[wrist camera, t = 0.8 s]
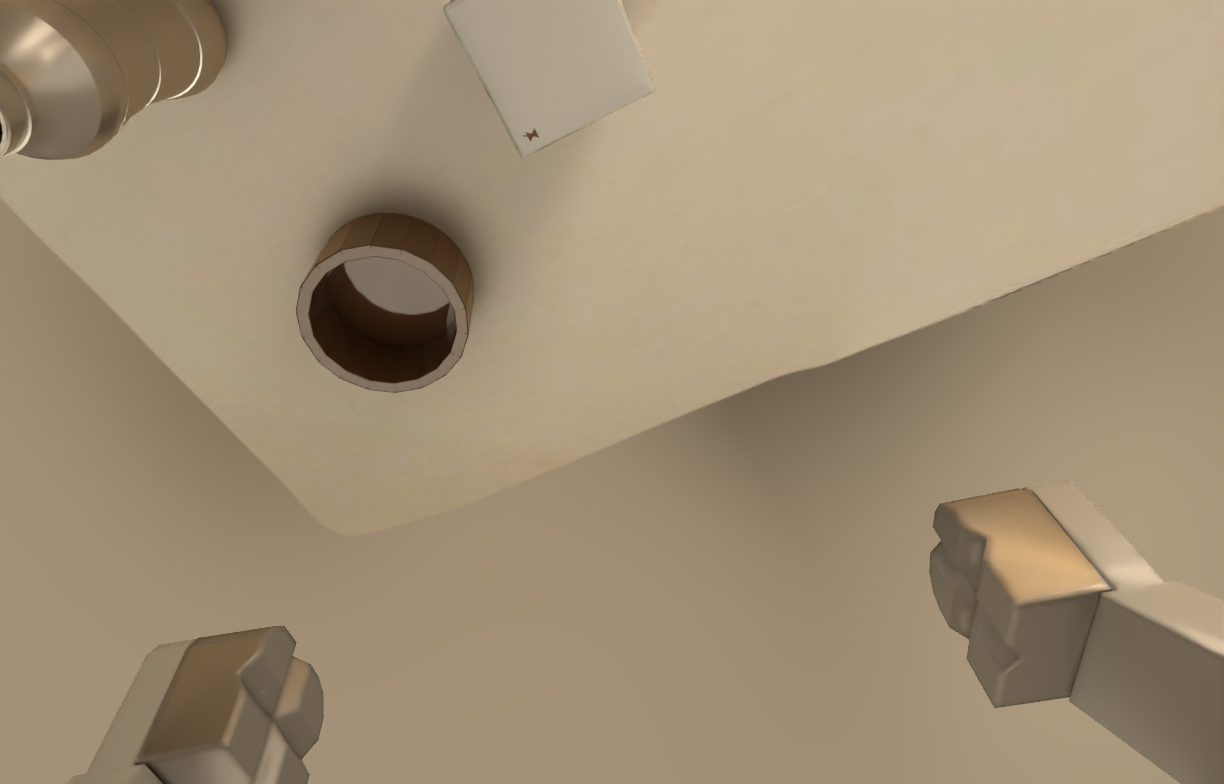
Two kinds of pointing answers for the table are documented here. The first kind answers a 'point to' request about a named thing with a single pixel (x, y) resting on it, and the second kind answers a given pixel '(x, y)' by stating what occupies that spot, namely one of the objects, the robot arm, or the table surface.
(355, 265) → the cup
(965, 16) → the table surface
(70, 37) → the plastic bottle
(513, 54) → the white packaging box
